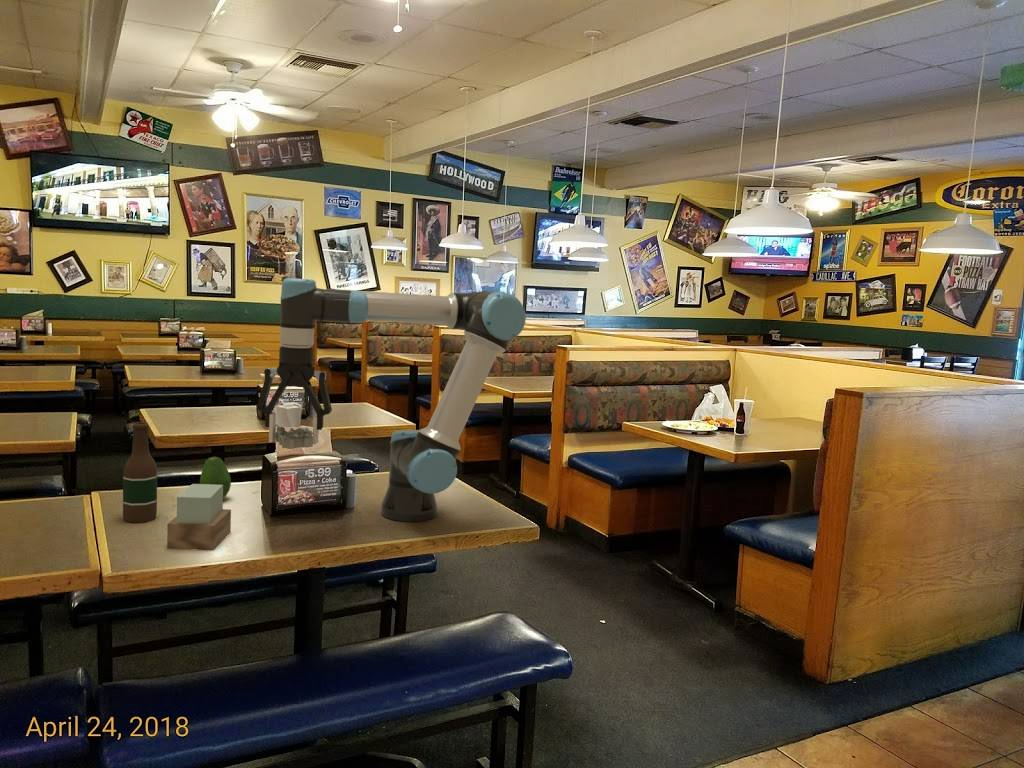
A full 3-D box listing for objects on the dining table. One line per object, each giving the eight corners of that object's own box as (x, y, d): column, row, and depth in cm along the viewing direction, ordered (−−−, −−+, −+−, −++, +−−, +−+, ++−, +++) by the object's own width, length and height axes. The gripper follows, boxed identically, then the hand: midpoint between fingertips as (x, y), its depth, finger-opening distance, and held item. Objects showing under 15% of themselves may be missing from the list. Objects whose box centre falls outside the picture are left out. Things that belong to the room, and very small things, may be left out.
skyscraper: (267, 498, 200) (270, 399, 197) (272, 490, 208) (275, 395, 205) (299, 499, 202) (302, 401, 198) (302, 491, 210) (305, 396, 206)
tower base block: (230, 533, 172) (231, 509, 171) (213, 551, 160) (214, 525, 159) (187, 531, 171) (187, 507, 170) (167, 549, 159) (167, 523, 159)
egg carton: (273, 440, 170) (273, 423, 170) (306, 439, 174) (306, 422, 173) (281, 449, 161) (281, 431, 160) (315, 448, 164) (315, 430, 164)
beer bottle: (151, 511, 183) (152, 419, 180) (162, 520, 177) (163, 424, 174) (117, 516, 177) (118, 421, 174) (128, 525, 172) (128, 427, 169)
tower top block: (222, 509, 171) (223, 484, 170) (209, 524, 160) (210, 497, 159) (191, 508, 170) (192, 483, 169) (176, 523, 159) (176, 497, 158)
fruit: (198, 497, 198) (198, 454, 196) (228, 495, 201) (229, 453, 200) (200, 505, 191) (201, 461, 189) (232, 503, 194) (233, 459, 193)
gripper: (347, 347, 169) (344, 441, 172) (252, 342, 168) (250, 436, 170) (342, 350, 162) (338, 448, 164) (242, 344, 160) (240, 443, 163)
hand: (293, 442), depth 167 cm, fingers closed on egg carton, 9 cm apart
